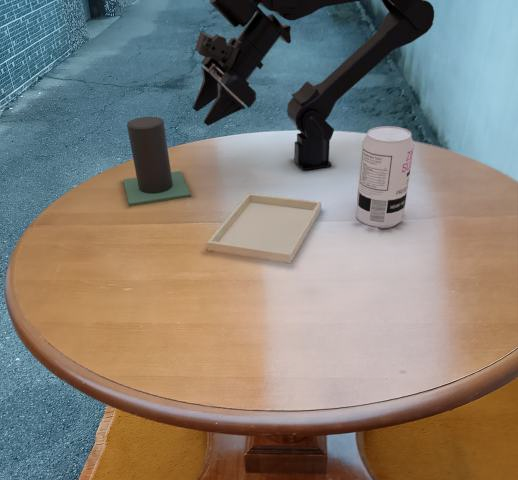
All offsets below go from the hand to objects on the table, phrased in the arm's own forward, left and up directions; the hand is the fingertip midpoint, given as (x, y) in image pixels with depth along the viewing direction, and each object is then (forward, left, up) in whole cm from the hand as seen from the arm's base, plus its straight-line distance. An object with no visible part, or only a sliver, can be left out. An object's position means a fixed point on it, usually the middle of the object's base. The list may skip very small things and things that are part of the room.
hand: (200, 116), depth 103 cm
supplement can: (-25, +28, -13) cm, 40 cm away
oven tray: (-5, +25, -13) cm, 29 cm away
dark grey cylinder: (+11, +1, -12) cm, 16 cm away
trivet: (+11, +1, -13) cm, 16 cm away
